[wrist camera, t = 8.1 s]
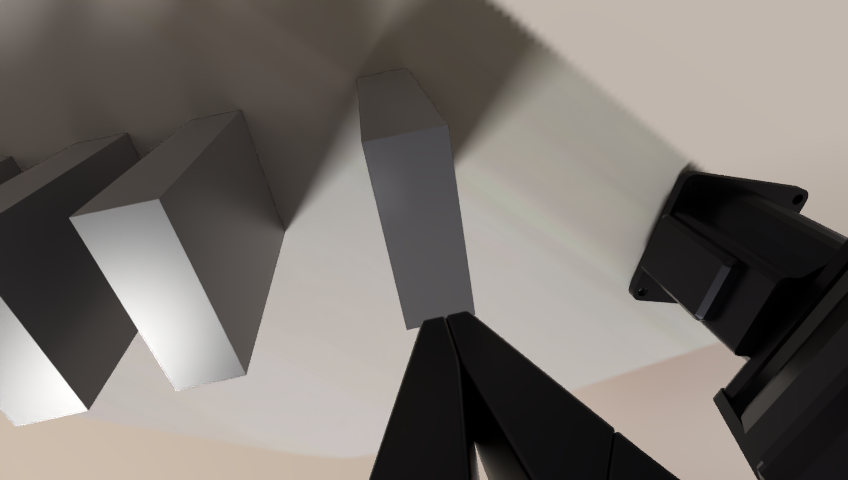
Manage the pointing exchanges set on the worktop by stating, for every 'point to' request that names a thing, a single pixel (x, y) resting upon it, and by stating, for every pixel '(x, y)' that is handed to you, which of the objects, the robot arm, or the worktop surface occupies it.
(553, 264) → the worktop surface
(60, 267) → the tile
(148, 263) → the tile
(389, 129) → the tile
